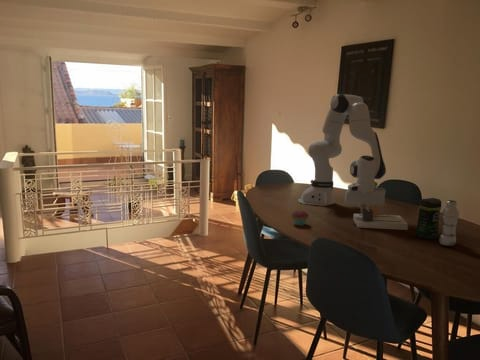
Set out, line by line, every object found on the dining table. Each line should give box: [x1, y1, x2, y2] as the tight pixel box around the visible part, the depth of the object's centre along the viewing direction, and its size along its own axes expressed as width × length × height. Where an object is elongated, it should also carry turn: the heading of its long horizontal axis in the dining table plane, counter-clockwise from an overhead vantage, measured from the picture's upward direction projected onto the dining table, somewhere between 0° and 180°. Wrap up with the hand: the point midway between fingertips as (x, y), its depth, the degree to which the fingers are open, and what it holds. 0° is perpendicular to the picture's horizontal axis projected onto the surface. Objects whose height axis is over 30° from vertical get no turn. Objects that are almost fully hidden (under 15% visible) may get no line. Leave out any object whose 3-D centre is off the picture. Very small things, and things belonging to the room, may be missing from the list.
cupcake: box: [291, 202, 310, 227], centre depth 202 cm, size 9×8×12 cm
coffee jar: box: [415, 197, 442, 240], centre depth 184 cm, size 10×8×19 cm
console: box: [352, 213, 409, 231], centre depth 206 cm, size 24×16×3 cm, turn 82°
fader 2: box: [368, 205, 379, 217], centre depth 210 cm, size 4×5×5 cm
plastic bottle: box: [438, 199, 460, 247], centre depth 173 cm, size 6×7×20 cm
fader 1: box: [362, 208, 373, 221], centre depth 201 cm, size 4×5×5 cm
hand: (363, 212), depth 210 cm, fingers closed
